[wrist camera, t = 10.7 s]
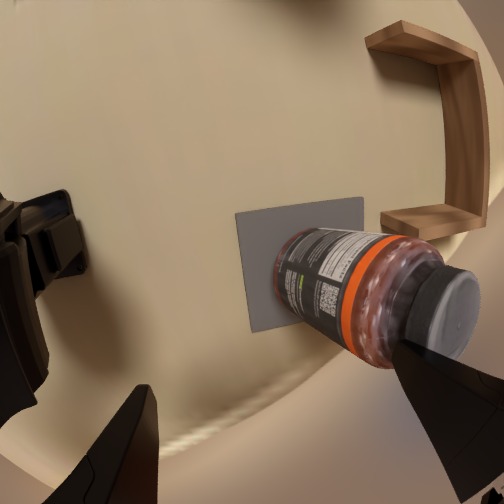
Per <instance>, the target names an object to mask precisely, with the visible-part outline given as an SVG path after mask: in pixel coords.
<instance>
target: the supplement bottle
mask: <svg viewBox="0 0 504 504" xmlns="http://www.w3.org/2000/svg"><path fill="white" fill-rule="evenodd" d="M273 280H274V287H275V291H276V294H277V296H278V298H279V300H280V302H281V303H282V304H283V305H284V307H286V308H287V309H288V310H289V311H290V312H292V313H293V314H295V315H296V316H298V317H299V318H300V319H302V320H303V321H305V322H306V323H308V324H309V325H311V326H312V327H314V328H315V329H316V330H318V331H320V332H321V333H322V334H324V335H326V336H327V337H328V338H330V339H331V340H333V341H335V342H336V343H338V344H339V345H340V346H342V347H344V348H345V349H347V350H348V351H350V352H351V353H353V354H354V355H356V356H357V357H359V358H360V359H362V360H363V361H365V362H366V363H368V364H370V365H372V366H374V367H377V368H381V369H394V367H393V365H392V363H391V355H392V352H393V348H394V345H395V343H396V342H397V341H399V340H402V339H408V340H410V341H412V342H414V343H417V344H419V345H421V346H423V347H426V348H428V349H430V350H433V351H435V352H437V353H439V354H442V355H444V356H446V357H449V358H451V359H453V360H455V361H457V360H458V359H459V357H460V356H461V355H462V353H463V351H464V350H465V349H466V347H467V345H468V343H469V341H470V339H471V337H472V335H473V332H474V330H475V326H476V323H477V319H478V315H479V309H480V299H481V297H480V287H479V283H478V280H477V278H476V277H475V275H474V274H473V273H472V272H470V271H467V270H463V269H458V268H454V267H452V266H449V265H445V263H444V261H443V258H442V256H441V255H440V253H439V252H438V250H437V249H436V248H435V247H434V246H433V245H431V244H430V243H428V242H427V241H425V240H423V239H419V238H415V237H411V236H402V235H394V234H384V233H375V232H364V231H354V230H343V229H332V228H309V229H306V230H303V231H301V232H299V233H297V234H296V235H294V236H293V237H292V238H290V239H289V240H288V241H287V242H286V243H285V245H284V246H283V247H282V249H281V250H280V252H279V254H278V256H277V259H276V263H275V266H274V274H273Z"/></svg>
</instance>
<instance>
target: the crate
mask: <svg viewBox="0 0 504 504" xmlns="http://www.w3.org/2000/svg"><path fill="white" fill-rule="evenodd" d="M365 41H366V46H367V48H369V49H375V50H380V51H384V52H389V53H394V54H398V55H402V56H406V57H410V58H413V59H417V60H421V61H424V62H427V63H431V64H434V65H436V66H437V71H438V77H439V83H440V90H441V98H442V106H443V116H444V128H445V146H446V193H445V204H439V205H431V206H423V207H416V208H408V209H400V210H393V211H385V212H381V224H383V225H385V226H387V227H389V228H391V229H393V230H395V231H397V232H399V233H401V234H403V235H405V236H411V237H415V238H419V239H423V240H425V241H427V240H432V239H436V238H440V237H445V236H449V235H453V234H458V233H462V232H466V231H470V230H474V229H479V228H482V227H485V226H486V219H487V209H488V197H489V177H490V146H489V126H488V114H487V105H486V97H485V90H484V84H483V78H482V72H481V67H480V62H479V58H478V53H477V52H476V51H474V50H472V49H470V48H468V47H466V46H464V45H462V44H460V43H458V42H456V41H454V40H451V39H449V38H447V37H445V36H442V35H440V34H438V33H435V32H433V31H430V30H428V29H425V28H422V27H420V26H417V25H414V24H411V23H408V22H405V21H402V20H400V21H398V22H396V23H394V24H392V25H389V26H387V27H385V28H383V29H381V30H379V31H377V32H375V33H373V34H371V35H369V36H367V37H365Z"/></svg>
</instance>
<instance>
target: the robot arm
mask: <svg viewBox="0 0 504 504" xmlns="http://www.w3.org/2000/svg"><path fill="white" fill-rule="evenodd" d="M60 194H63V199H61V198H60ZM82 249H83V245H82V241H81V238H80V234H79V230H78V227H77V223H76V218H75V216H74V215H73V214H72V210H71V205H70V201H69V196H68V193H67V191H66V190H64V189H61V190H58V191H55V192H52V193H49V194H46V195H43V196H40V197H37V198H34V199H31V200H28V201H25V202H23V203H21V202H14V201H7V200H6V198H4V197H3V196H2V194H1V193H0V428H1V427H2V426H3V425H4V424H5V423H6V422H7V421H8V420H9V419H10V418H11V417H12V416H13V415H15V414H16V413H18V412H20V411H21V410H23V409H26V408H29V407H32V406H35V405H36V404H37V403H38V402H37V399H36V397H35V395H34V392H35V391H36V390H37V389H38V388H39V387H40V386H41V385H42V384H43V383H44V381H45V379H46V378H47V376H48V374H49V372H48V369H47V368H48V363H49V352H48V348H47V345H46V342H45V338H44V335H43V331H42V328H41V324H40V320H39V316H38V311H37V307H36V303H35V300H36V299H37V298H38V296H39V295H40V294H41V293H42V292H43V291H44V290H45V288H46V287H47V286H48V285H49V284H50V283H51V282H52V281H53V280H54V279H58V278H64V277H69V276H75V275H80V274H83V273H84V272H85V271H86V270H87V265H86V261H85V258H84V255H83V252H82ZM79 265H80V266H82V269H80V268H79ZM391 363H392V365H393V367H394V369H395V372H396V374H397V376H398V378H399V381H400V383H401V385H402V388H403V390H404V392H405V394H406V396H407V398H408V399H409V401H410V403H411V405H412V407H413V409H414V410H415V412H416V414H417V416H418V417H419V419H420V421H421V423H422V425H423V427H424V429H425V431H426V433H427V434H428V437H429V438H430V440H431V442H432V444H433V446H434V448H435V450H436V452H437V454H438V456H439V458H440V460H441V462H442V464H443V466H444V469H445V471H446V473H447V475H448V477H449V479H450V482H451V484H452V486H453V488H454V490H455V493H456V495H457V497H458V499H459V501H460V503H461V504H462V503H463V502H465V501H467V500H468V499H469V498H471V497H472V496H474V495H475V494H477V493H478V492H479V491H481V490H482V489H483V488H485V487H486V486H487V485H489V484H490V483H491V484H492V485H493V487H492V488H491V489H490V490H489V491H488V492H486V494H484V495H483V496H482V500H481V504H504V380H503V379H500V378H497V377H494V376H491V375H489V374H486V373H484V372H481V371H478V370H476V369H474V368H472V367H469V366H467V365H465V364H462V363H460V362H458V361H455V360H453V359H451V358H449V357H446V356H444V355H442V354H439V353H437V352H435V351H433V350H430V349H428V348H426V347H423V346H421V345H419V344H417V343H414V342H412V341H410V340H408V339H402V340H399V341H397V342H396V343H395V345H394V348H393V352H392V355H391ZM86 454H87V455H85V456H84V457H83V458H82V460H81V461H80V462H79V464H78V465H77V466H76V468H75V469H74V470H73V471H72V473H71V474H70V475H69V476H68V477H67V478H66V479H65V480H64V482H63V483H62V484H61V485H60V486H59V487H58V488H57V489H56V490H55V491H54V492H53V493H52V494H51V495H50V496H49V497H48V498H47V499H46V500H45V501H44V502H43V503H42V504H157V492H158V458H159V432H158V414H157V401H156V398H155V396H154V394H153V391H152V389H151V387H150V385H148V384H139V385H137V386H136V387H135V388H134V390H133V391H132V392H131V394H130V395H129V396H128V398H127V399H126V400H125V402H124V403H123V404H122V406H121V407H120V408H119V410H118V411H117V413H116V414H115V415H114V417H113V418H112V419H111V421H110V422H109V423H108V425H107V426H106V427H105V429H104V430H103V431H102V433H101V434H100V435H99V437H98V438H97V439H96V441H95V442H94V444H93V445H92V446H91V448H90V449H89V450H88V452H87V453H86Z"/></svg>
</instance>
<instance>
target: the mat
mask: <svg viewBox="0 0 504 504" xmlns="http://www.w3.org/2000/svg"><path fill="white" fill-rule="evenodd" d="M235 217H236V224H237V232H238V239H239V246H240V254H241V261H242V268H243V275H244V282H245V290H246V297H247V304H248V311H249V317H250V324H251V330H252V333H253V332H258V331H263V330H267V329H272V328H277V327H281V326H286V325H290V324H295V323H299V322H303V320H302V319H300V318H299V317H298V316H296V315H295V314H293V313H292V312H290V311H289V310H288V309H287V308H286V307H284V305H283V304H282V303H281V302H280V300H279V298H278V296H277V294H276V291H275V287H274V280H273V274H274V266H275V263H276V259H277V256H278V254H279V252H280V250H281V249H282V247H283V246H284V245H285V243H286V242H287V241H288V240H289V239H290V238H292V237H293V236H294V235H296V234H297V233H299V232H301V231H303V230H306V229H309V228H332V229H343V230H354V231H364V197H353V198H344V199H336V200H327V201H319V202H311V203H304V204H296V205H289V206H282V207H275V208H268V209H261V210H254V211H248V212H241V213H235Z"/></svg>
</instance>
